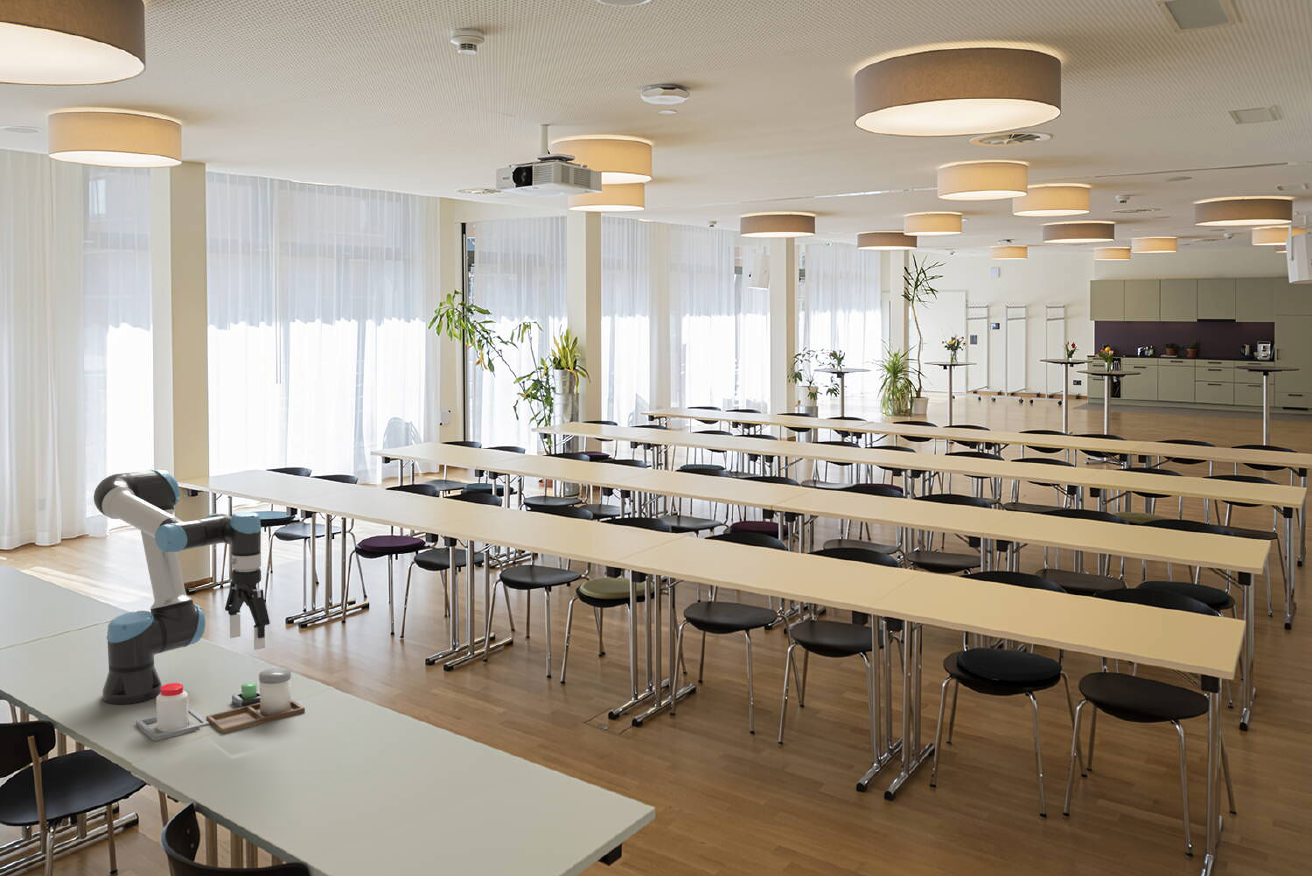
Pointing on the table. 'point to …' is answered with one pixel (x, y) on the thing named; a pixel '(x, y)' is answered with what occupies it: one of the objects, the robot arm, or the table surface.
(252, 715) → the brown divided tray
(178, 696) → the pill bottle
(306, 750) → the table surface
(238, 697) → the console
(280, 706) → the seated part
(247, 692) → the button
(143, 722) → the tray
